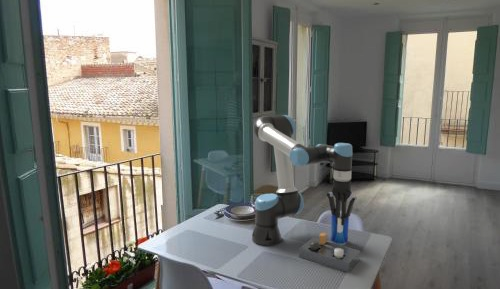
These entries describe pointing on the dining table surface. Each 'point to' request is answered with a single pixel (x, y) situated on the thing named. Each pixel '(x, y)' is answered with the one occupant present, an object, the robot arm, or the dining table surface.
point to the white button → (338, 253)
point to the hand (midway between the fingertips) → (340, 231)
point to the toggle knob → (322, 238)
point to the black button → (314, 246)
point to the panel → (330, 255)
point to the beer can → (336, 236)
